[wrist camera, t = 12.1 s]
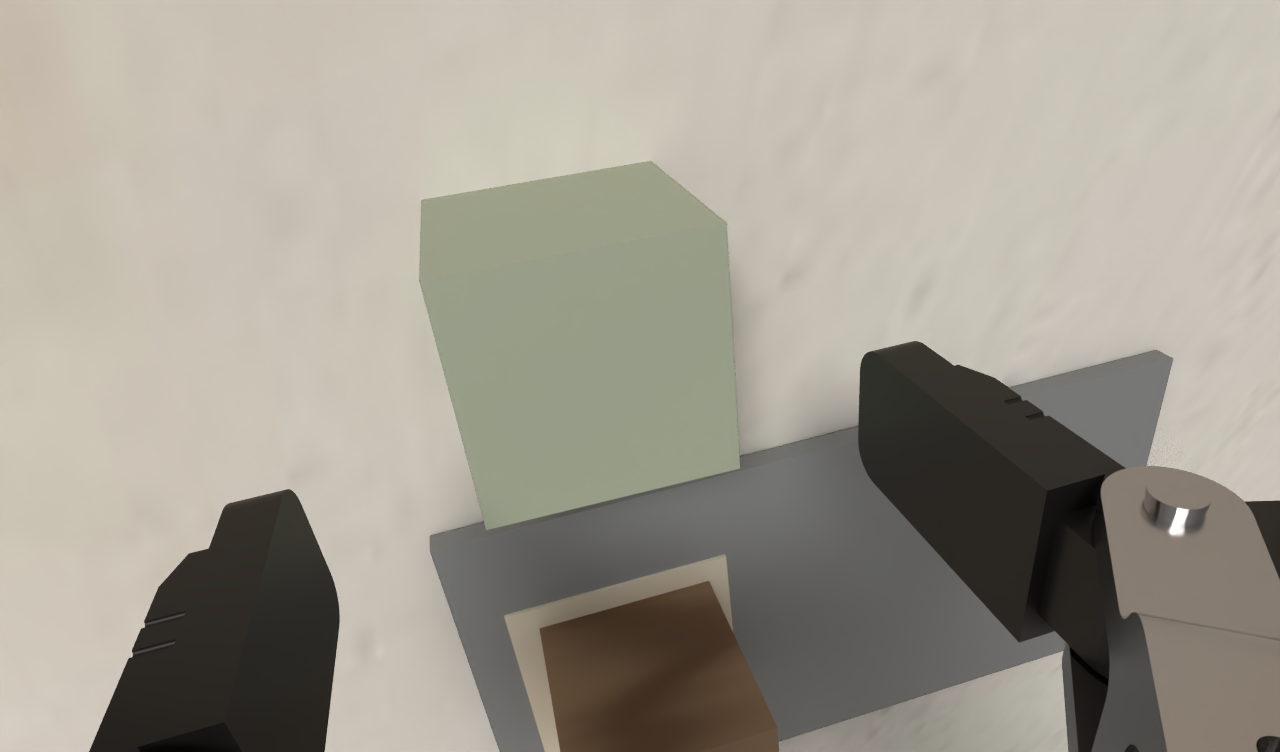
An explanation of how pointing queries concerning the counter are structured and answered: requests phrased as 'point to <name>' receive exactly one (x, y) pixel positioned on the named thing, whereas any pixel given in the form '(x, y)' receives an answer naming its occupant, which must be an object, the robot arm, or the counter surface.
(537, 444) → the sage block
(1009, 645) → the build mat
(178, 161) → the counter surface
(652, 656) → the walnut block
